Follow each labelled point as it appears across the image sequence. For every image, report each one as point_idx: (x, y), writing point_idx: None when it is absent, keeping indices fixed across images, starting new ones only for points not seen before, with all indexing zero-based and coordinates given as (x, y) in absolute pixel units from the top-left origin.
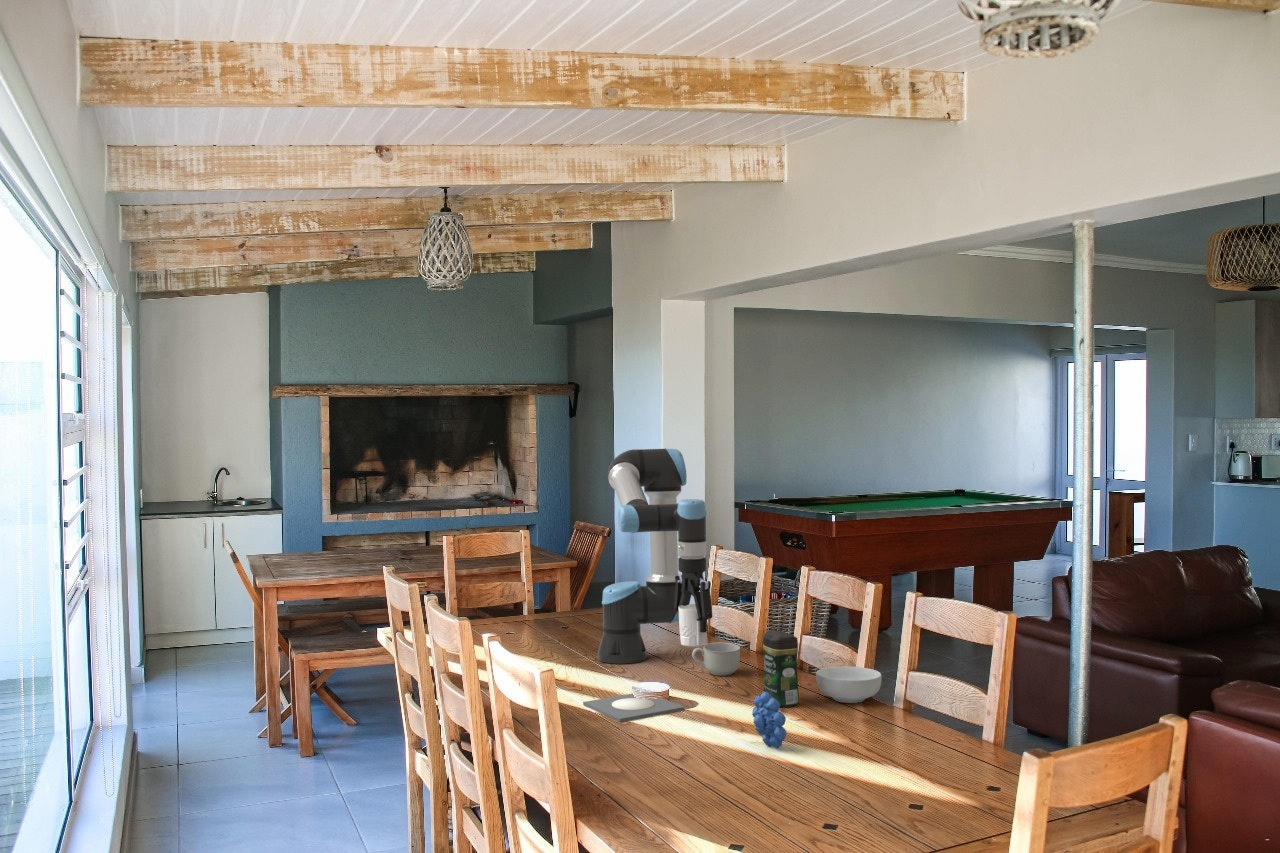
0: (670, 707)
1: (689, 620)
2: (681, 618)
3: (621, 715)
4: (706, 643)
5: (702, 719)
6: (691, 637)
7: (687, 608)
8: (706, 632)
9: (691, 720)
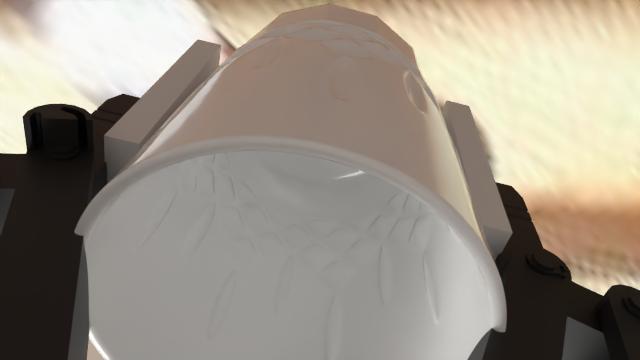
0: None
1: (373, 332)
2: (277, 344)
3: None
4: (468, 110)
5: (608, 258)
6: (380, 210)
7: (112, 224)
8: (483, 153)
9: (579, 282)
